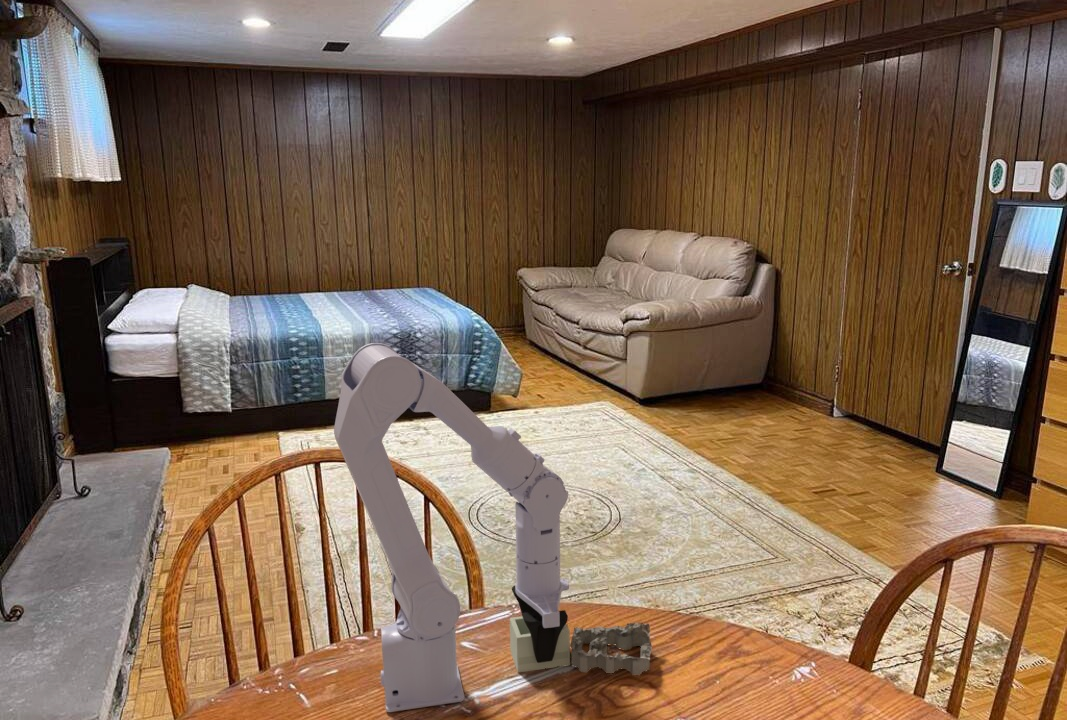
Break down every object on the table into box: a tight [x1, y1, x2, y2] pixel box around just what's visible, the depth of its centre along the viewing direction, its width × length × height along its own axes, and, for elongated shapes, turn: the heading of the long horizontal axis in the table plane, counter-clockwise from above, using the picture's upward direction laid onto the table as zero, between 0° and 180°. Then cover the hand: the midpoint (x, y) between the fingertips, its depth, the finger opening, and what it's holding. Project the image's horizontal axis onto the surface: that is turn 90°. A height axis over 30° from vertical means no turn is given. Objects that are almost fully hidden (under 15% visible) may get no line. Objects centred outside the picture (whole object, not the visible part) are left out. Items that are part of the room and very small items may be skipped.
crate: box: [509, 615, 571, 674], centre depth 105 cm, size 7×5×5 cm
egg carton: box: [570, 622, 653, 676], centre depth 105 cm, size 11×8×4 cm
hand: (539, 648), depth 106 cm, fingers closed on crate, 5 cm apart
